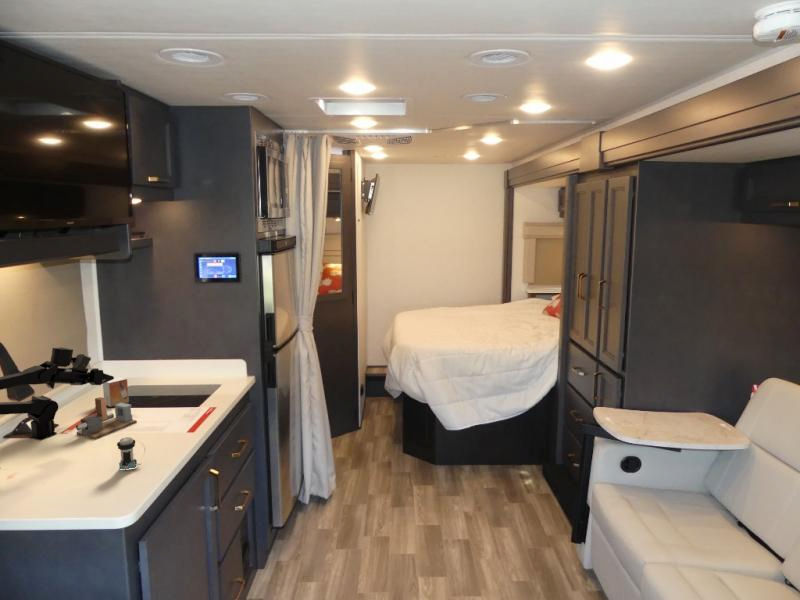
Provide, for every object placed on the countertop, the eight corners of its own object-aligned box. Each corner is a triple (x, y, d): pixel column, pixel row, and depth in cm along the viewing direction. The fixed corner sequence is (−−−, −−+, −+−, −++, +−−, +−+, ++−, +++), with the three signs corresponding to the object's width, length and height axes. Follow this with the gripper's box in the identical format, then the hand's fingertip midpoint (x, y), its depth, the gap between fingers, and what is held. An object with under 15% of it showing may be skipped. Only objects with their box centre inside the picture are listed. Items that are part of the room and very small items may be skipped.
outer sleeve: (89, 435, 212) (88, 421, 211) (81, 433, 214) (80, 419, 213) (102, 430, 217) (101, 416, 216) (95, 428, 219) (94, 414, 218)
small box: (110, 407, 244) (108, 383, 242) (103, 404, 247) (101, 380, 246) (129, 402, 250) (127, 378, 249) (122, 399, 254) (120, 376, 252)
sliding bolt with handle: (81, 431, 210) (79, 407, 208) (75, 430, 211) (73, 405, 209) (115, 418, 222) (113, 395, 221) (109, 417, 223) (107, 394, 222)
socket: (126, 422, 225) (124, 407, 224) (115, 419, 228) (114, 404, 227) (132, 419, 228) (131, 404, 227) (122, 417, 230) (121, 402, 229)
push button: (143, 464, 191) (141, 435, 190) (138, 472, 186) (136, 442, 184) (122, 465, 190) (120, 436, 189) (116, 473, 185) (114, 443, 184)
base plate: (95, 439, 211) (95, 436, 211) (76, 434, 215) (76, 432, 215) (136, 422, 227) (136, 420, 227) (118, 418, 231) (118, 416, 231)
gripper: (83, 353, 216) (122, 356, 228) (56, 355, 226) (95, 358, 239) (79, 384, 214) (119, 385, 226) (53, 384, 224) (92, 385, 237)
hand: (106, 378), depth 232 cm, fingers open, 9 cm apart
